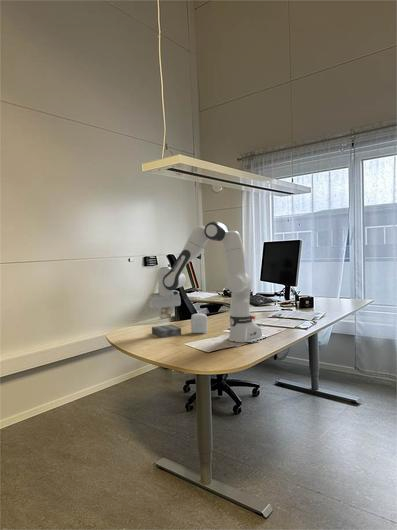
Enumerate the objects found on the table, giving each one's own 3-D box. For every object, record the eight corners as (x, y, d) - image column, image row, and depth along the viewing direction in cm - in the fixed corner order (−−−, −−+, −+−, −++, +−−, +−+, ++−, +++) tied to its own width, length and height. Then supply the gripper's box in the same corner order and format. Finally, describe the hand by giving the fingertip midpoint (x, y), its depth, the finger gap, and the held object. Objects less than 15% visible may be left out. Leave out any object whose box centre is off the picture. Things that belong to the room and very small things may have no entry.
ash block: (167, 316, 228) (167, 307, 227) (170, 317, 223) (170, 308, 223) (160, 317, 225) (160, 307, 225) (163, 318, 221) (163, 309, 221)
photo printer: (207, 332, 228) (207, 312, 227) (207, 333, 223) (206, 314, 223) (191, 332, 229) (191, 313, 228) (191, 333, 224) (190, 314, 224)
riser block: (171, 330, 234) (171, 324, 234) (181, 334, 222) (180, 328, 222) (152, 333, 228) (151, 327, 227) (160, 337, 215) (160, 331, 215)
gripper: (151, 294, 216) (152, 316, 216) (181, 291, 226) (182, 313, 226) (147, 293, 221) (148, 315, 222) (177, 290, 231) (177, 311, 232)
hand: (165, 314), depth 224 cm, fingers closed on ash block, 5 cm apart
